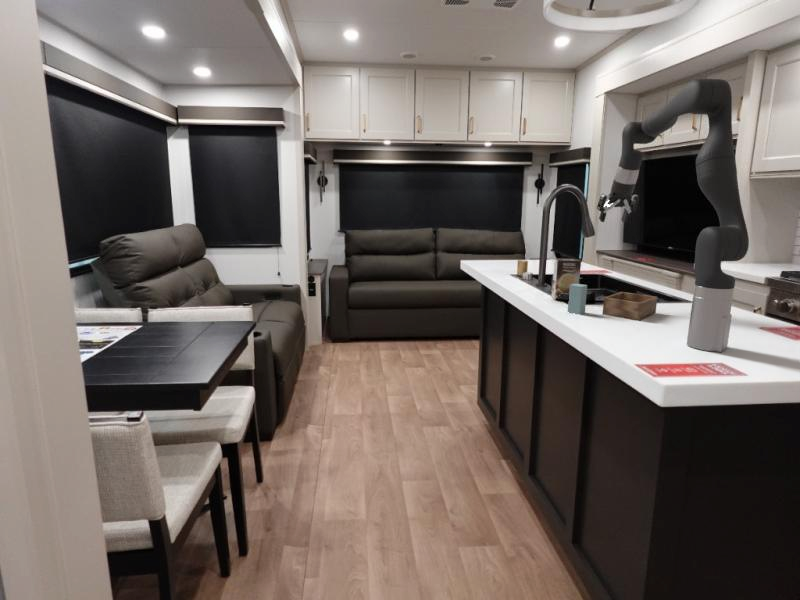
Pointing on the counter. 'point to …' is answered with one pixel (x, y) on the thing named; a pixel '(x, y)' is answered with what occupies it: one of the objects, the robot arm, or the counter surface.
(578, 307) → the block
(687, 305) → the counter surface
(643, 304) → the crate
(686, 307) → the counter surface
